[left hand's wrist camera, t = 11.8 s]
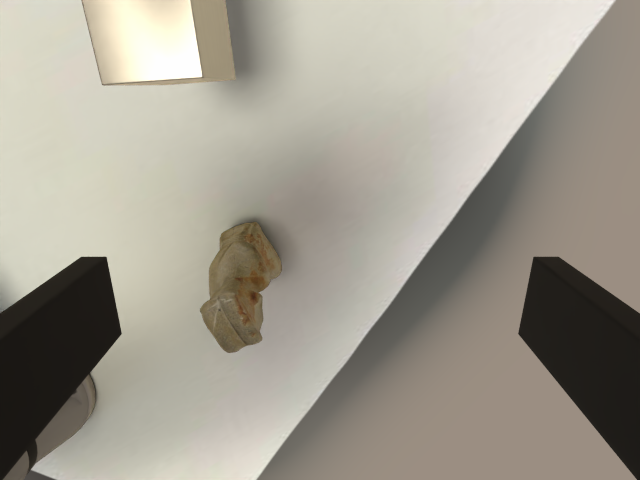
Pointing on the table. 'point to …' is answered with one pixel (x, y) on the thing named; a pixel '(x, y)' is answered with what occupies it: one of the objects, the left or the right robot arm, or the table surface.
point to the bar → (160, 41)
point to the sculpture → (239, 286)
